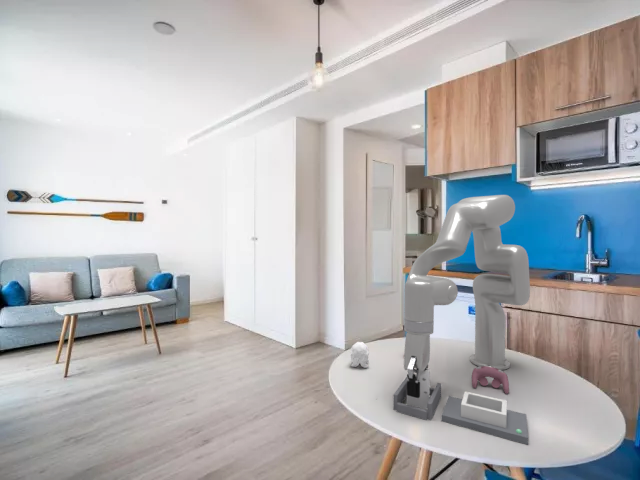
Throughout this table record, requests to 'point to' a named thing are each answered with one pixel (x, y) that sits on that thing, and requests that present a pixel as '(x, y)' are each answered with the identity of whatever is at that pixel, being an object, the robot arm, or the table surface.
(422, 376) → the white angled block
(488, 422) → the port block
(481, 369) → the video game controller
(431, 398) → the gray rectangular frame
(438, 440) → the table surface
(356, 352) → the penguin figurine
